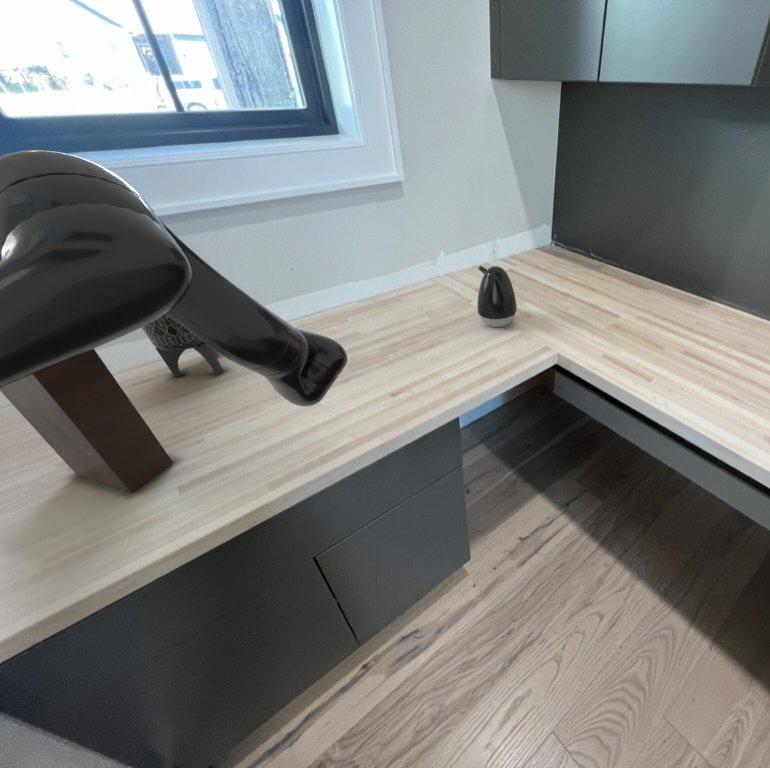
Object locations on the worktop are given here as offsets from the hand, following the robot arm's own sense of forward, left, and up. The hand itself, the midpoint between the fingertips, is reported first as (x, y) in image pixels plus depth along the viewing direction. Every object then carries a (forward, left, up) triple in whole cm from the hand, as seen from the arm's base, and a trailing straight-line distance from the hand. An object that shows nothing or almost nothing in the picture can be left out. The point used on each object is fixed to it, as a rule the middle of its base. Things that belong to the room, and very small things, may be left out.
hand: (107, 249), depth 60 cm
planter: (+10, +22, -33) cm, 41 cm away
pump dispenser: (+63, -23, -33) cm, 74 cm away
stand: (-13, 0, -33) cm, 36 cm away
